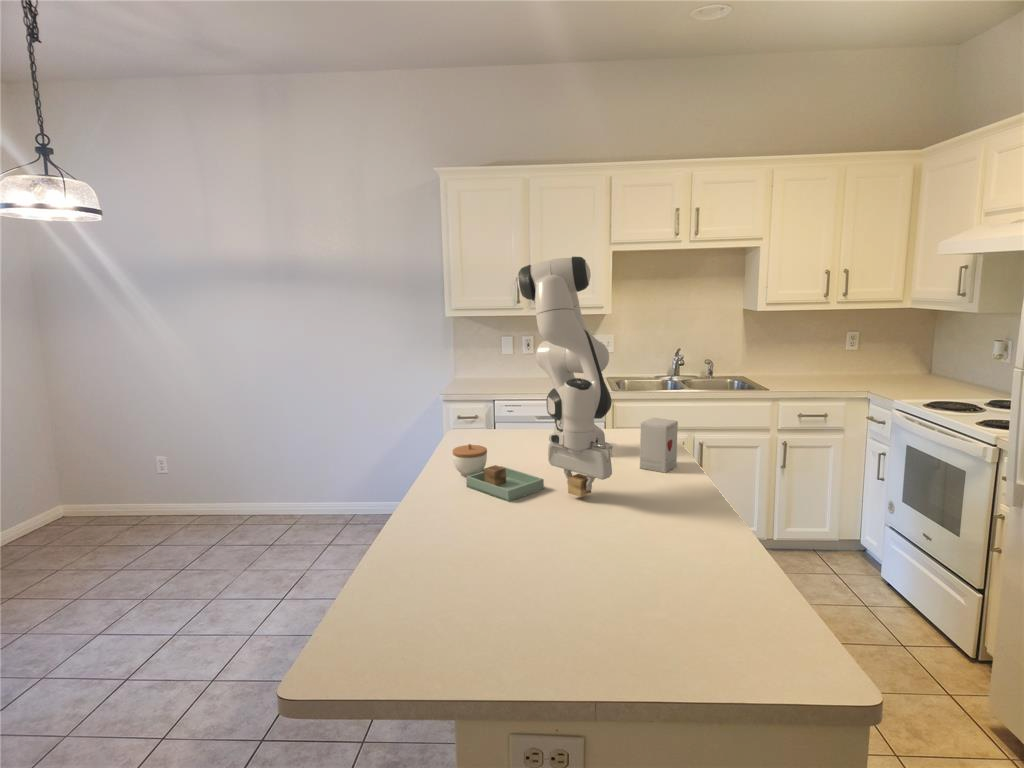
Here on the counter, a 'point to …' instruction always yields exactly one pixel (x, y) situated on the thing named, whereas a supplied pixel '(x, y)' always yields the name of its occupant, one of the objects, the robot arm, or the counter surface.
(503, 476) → the walnut block
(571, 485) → the oak block
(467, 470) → the lidded jar
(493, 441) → the counter surface
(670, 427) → the supplement box
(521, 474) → the tray
